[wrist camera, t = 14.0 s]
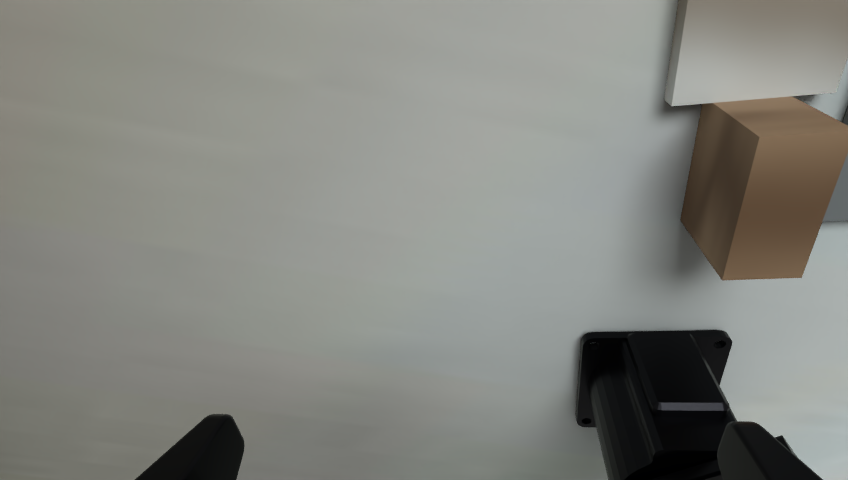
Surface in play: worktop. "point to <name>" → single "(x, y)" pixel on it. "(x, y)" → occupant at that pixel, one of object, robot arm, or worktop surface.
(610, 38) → the worktop surface
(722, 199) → the grey-capped brown block
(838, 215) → the slate mat
